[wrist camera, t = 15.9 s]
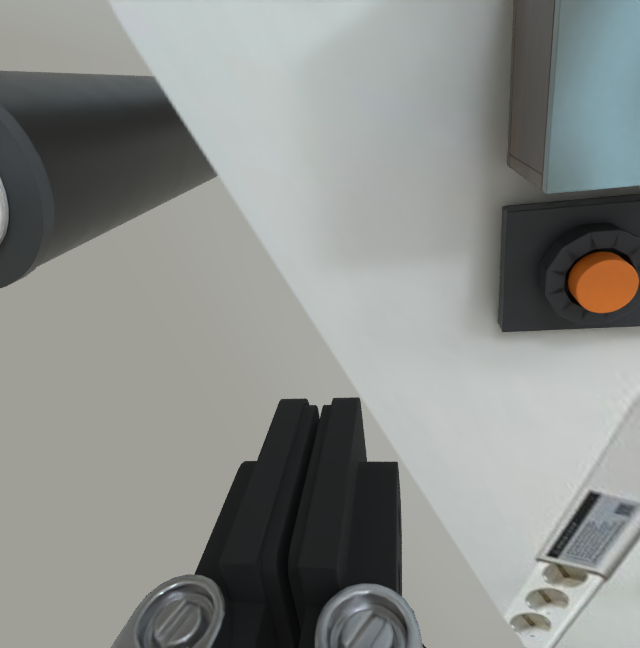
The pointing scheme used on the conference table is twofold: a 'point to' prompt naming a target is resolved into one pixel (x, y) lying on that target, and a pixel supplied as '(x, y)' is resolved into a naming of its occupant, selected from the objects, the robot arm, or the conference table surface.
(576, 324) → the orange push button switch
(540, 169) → the brown open boxy piece
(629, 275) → the button
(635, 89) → the hatch
